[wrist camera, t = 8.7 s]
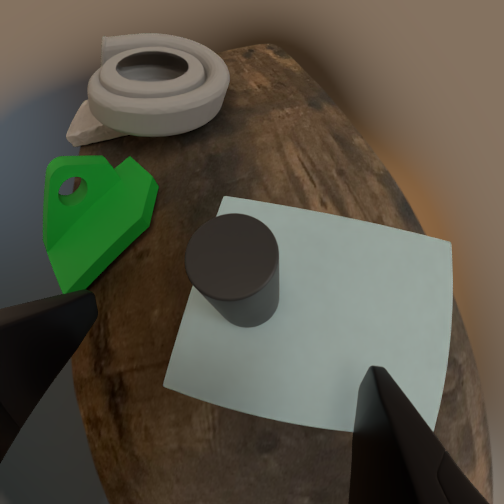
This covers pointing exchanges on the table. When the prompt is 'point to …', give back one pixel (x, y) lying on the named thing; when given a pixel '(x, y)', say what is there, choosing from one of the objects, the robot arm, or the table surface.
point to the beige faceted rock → (88, 128)
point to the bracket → (93, 215)
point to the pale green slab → (310, 314)
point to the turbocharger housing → (156, 85)
